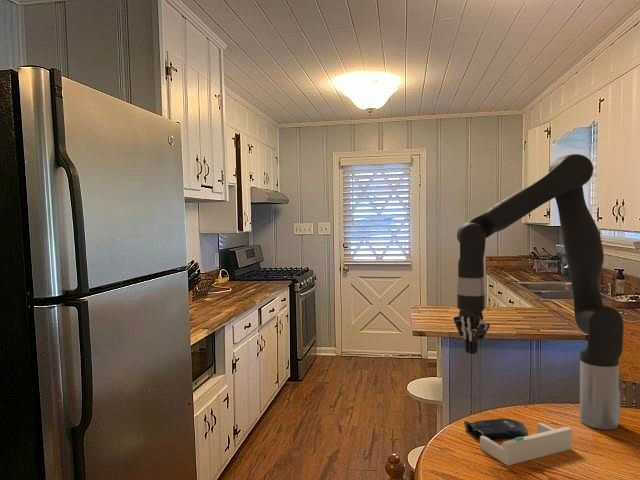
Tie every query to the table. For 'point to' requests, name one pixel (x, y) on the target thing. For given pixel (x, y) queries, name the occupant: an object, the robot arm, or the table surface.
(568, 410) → the table surface
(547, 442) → the charging dock
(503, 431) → the electronic device
